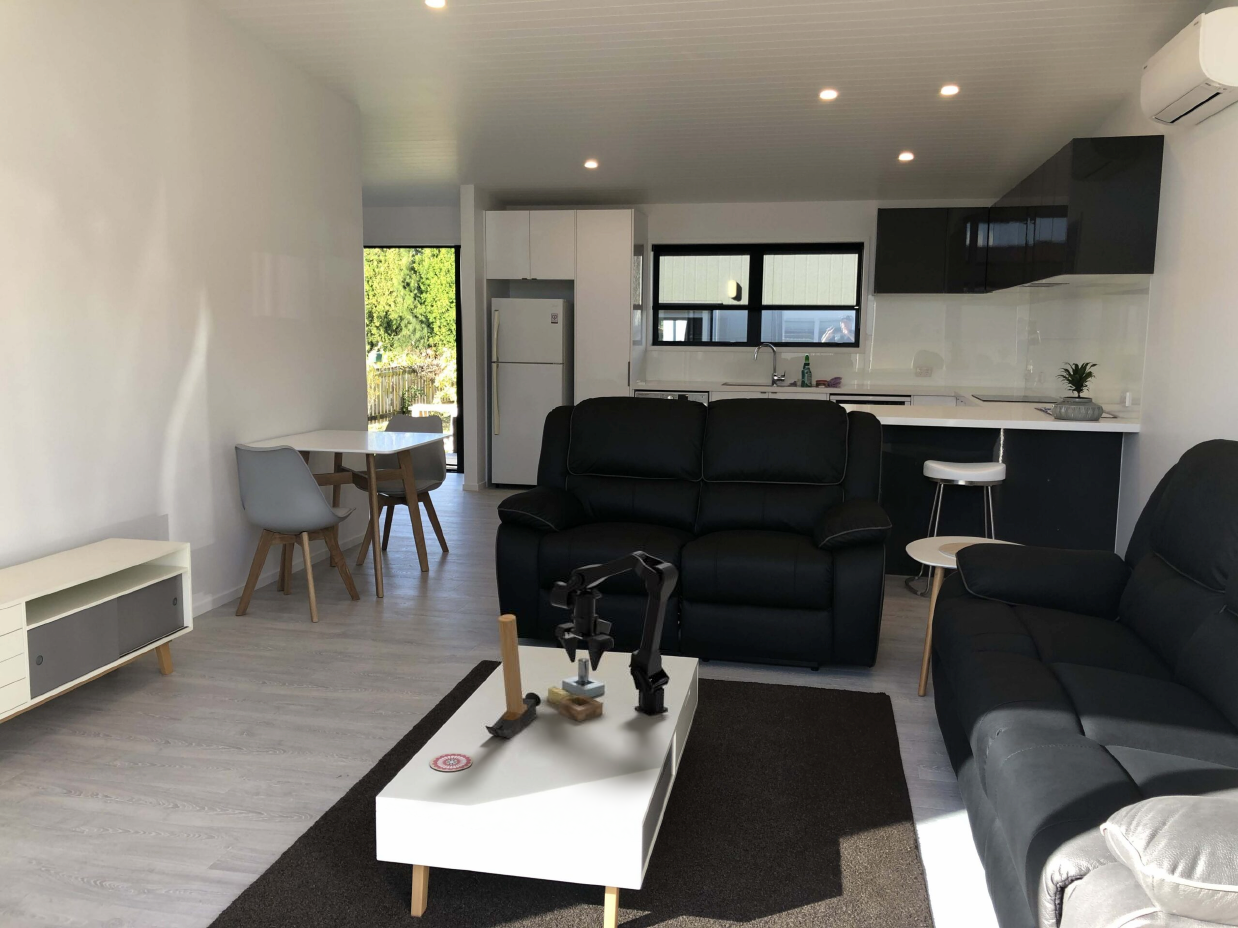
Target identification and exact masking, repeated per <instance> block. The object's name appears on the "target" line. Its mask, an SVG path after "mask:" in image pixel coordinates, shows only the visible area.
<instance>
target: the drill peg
mask: <svg viewBox="0 0 1238 928" xmlns="http://www.w3.org/2000/svg"><path fill="white" fill-rule="evenodd" d="M577 667H578V668H577V676H578V685H581V686H585V685H588V684H589V678H590V658H586V657H581V658H579V659H578V661H577Z"/></svg>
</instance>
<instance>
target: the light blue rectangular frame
mask: <svg viewBox="0 0 1238 928" xmlns="http://www.w3.org/2000/svg"><path fill="white" fill-rule="evenodd" d="M561 686H562V687H561V689H562V690H564V691H566V692H569V693H571V694H573V695H575V696H579V695H582V694H583V695H585V696H588V697H590V698H593V697H595V696H597V697H598V696H600V695H604V694H605V692H606V691H605V688H606V687H605V683H602V682H601V681H597V680H595V679H593V678H590V677H589V684H588V685H585V686H581V685H578V675H575V676H572V677H568V678H565V679H562V683H561Z"/></svg>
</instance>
